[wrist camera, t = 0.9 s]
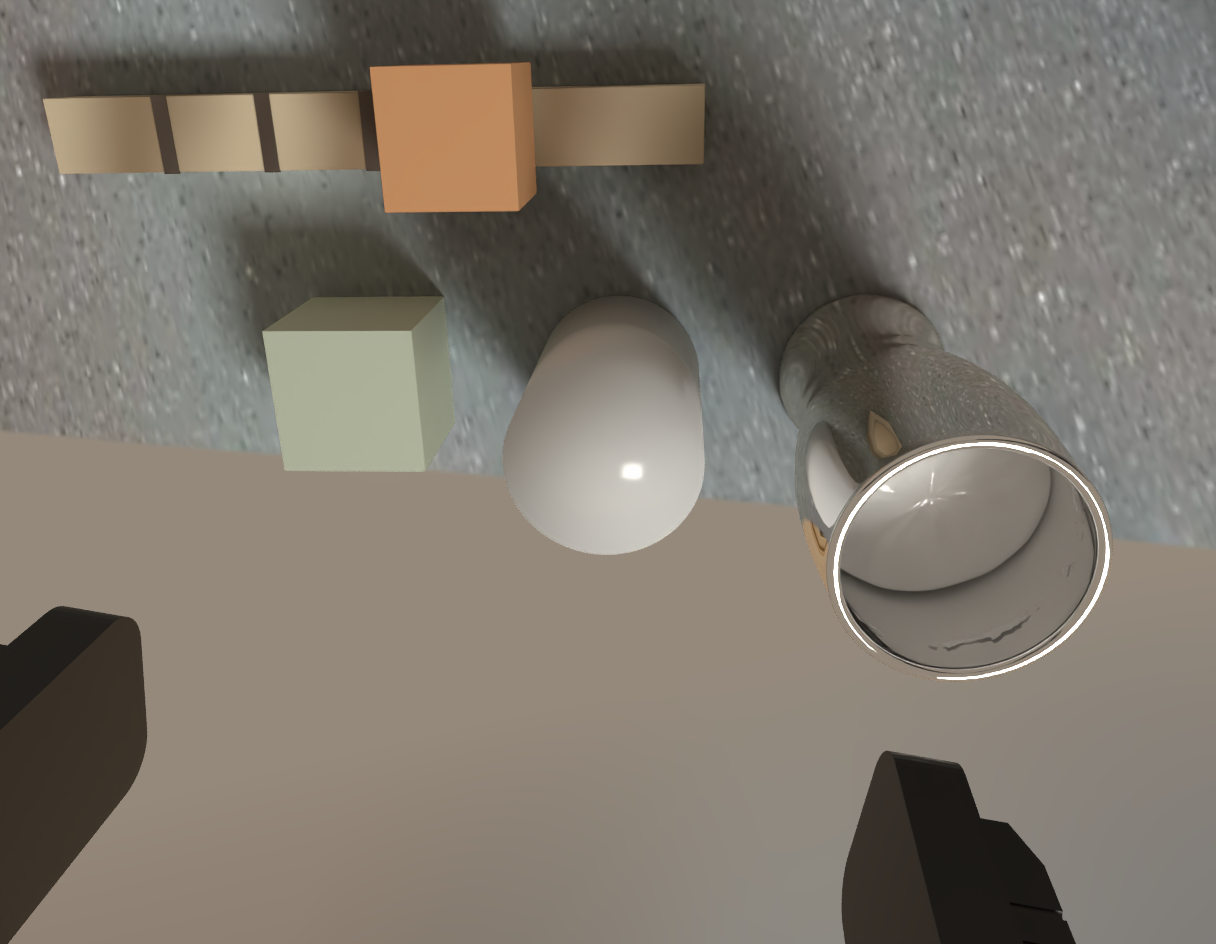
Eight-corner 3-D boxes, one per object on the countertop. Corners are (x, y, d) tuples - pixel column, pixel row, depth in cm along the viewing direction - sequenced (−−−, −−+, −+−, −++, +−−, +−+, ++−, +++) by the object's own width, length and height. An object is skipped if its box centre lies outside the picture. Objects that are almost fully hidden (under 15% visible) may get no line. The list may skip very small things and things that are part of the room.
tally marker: (530, 62, 31) (510, 63, 28) (536, 192, 33) (518, 211, 29) (405, 65, 31) (369, 66, 28) (417, 194, 33) (385, 212, 29)
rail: (703, 81, 33) (705, 84, 31) (702, 159, 34) (703, 165, 32) (75, 95, 35) (41, 97, 33) (92, 168, 36) (58, 175, 34)
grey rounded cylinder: (700, 295, 36) (706, 367, 28) (698, 447, 39) (703, 556, 30) (537, 296, 37) (496, 367, 28) (544, 446, 39) (508, 553, 31)
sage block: (444, 295, 37) (411, 330, 32) (455, 421, 39) (425, 471, 34) (313, 296, 37) (262, 331, 33) (331, 421, 39) (284, 470, 35)
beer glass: (761, 290, 36) (812, 439, 22) (959, 272, 35) (1138, 414, 21) (770, 466, 39) (821, 697, 25) (954, 452, 38) (1110, 682, 24)
